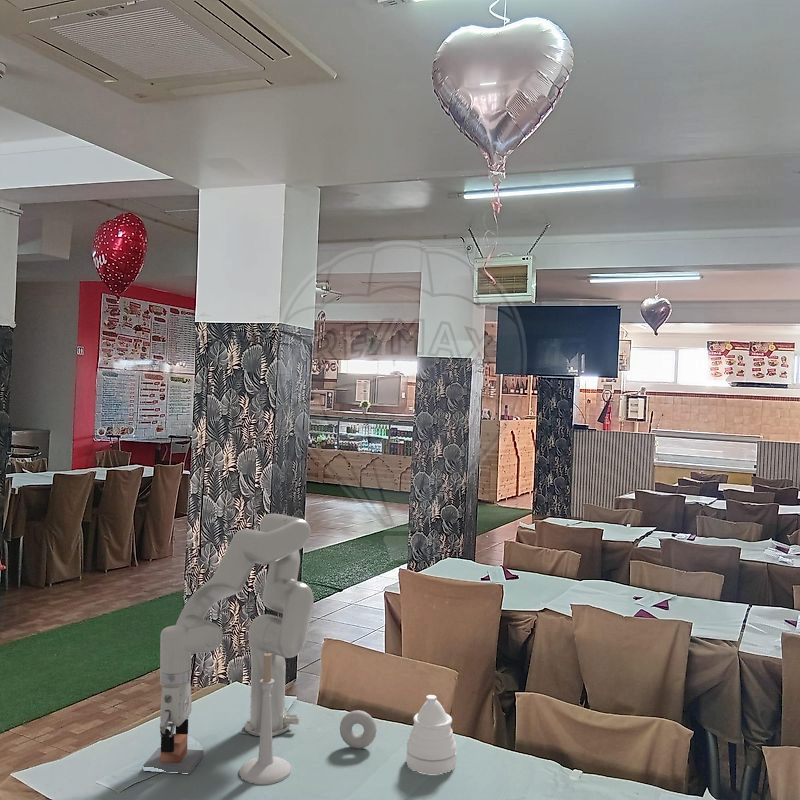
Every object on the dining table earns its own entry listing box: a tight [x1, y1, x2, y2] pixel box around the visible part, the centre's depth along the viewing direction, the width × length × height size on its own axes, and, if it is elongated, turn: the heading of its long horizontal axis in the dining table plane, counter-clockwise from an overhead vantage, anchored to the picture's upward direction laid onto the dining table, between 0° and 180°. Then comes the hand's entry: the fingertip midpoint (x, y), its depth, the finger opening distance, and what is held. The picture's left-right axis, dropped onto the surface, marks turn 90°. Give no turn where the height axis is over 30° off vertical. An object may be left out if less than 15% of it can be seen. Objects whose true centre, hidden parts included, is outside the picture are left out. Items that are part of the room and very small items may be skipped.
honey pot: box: [405, 694, 457, 774], centre depth 204 cm, size 13×13×18 cm
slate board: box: [142, 747, 204, 775], centre depth 201 cm, size 12×10×2 cm
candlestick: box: [238, 652, 292, 785], centre depth 198 cm, size 13×13×30 cm
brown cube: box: [161, 733, 189, 763], centre depth 201 cm, size 5×5×5 cm
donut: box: [339, 709, 377, 749], centre depth 212 cm, size 10×4×10 cm, turn 82°
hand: (174, 742), depth 201 cm, fingers open, 9 cm apart
